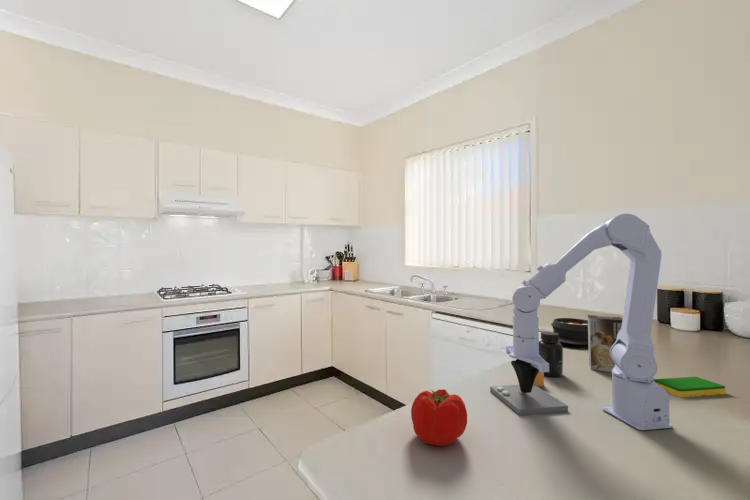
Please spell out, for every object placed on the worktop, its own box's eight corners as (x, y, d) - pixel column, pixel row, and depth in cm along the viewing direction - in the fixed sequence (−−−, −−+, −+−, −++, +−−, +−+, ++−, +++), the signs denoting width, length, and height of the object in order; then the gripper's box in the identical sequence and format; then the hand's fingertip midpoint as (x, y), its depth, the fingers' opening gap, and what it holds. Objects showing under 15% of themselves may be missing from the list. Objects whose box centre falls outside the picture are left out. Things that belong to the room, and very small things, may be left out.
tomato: (476, 437, 65) (476, 392, 65) (447, 463, 57) (447, 412, 57) (429, 419, 72) (429, 378, 72) (398, 440, 64) (398, 394, 64)
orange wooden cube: (543, 385, 90) (543, 370, 90) (528, 386, 90) (528, 371, 90) (533, 379, 95) (533, 365, 95) (519, 380, 94) (519, 366, 94)
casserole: (591, 352, 121) (591, 329, 121) (538, 342, 135) (538, 321, 135) (609, 340, 138) (609, 320, 138) (560, 333, 152) (560, 314, 152)
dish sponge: (726, 395, 85) (726, 386, 85) (680, 399, 83) (679, 389, 83) (695, 385, 92) (695, 376, 92) (652, 387, 90) (652, 378, 90)
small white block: (527, 393, 82) (526, 385, 82) (521, 393, 82) (521, 386, 82) (524, 391, 83) (524, 383, 83) (518, 391, 83) (518, 384, 83)
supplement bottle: (566, 378, 96) (566, 336, 96) (540, 376, 97) (540, 335, 97) (558, 370, 102) (558, 331, 102) (534, 368, 104) (534, 330, 104)
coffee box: (622, 368, 104) (622, 316, 105) (626, 374, 99) (626, 320, 99) (587, 363, 109) (587, 314, 109) (589, 369, 103) (589, 317, 103)
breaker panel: (568, 411, 76) (568, 403, 76) (519, 414, 74) (519, 407, 74) (532, 388, 88) (532, 381, 88) (490, 391, 87) (490, 384, 87)
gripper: (495, 329, 88) (495, 381, 88) (528, 344, 74) (528, 406, 74) (520, 328, 89) (520, 380, 89) (557, 343, 75) (557, 404, 75)
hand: (525, 391), depth 81 cm, fingers closed
